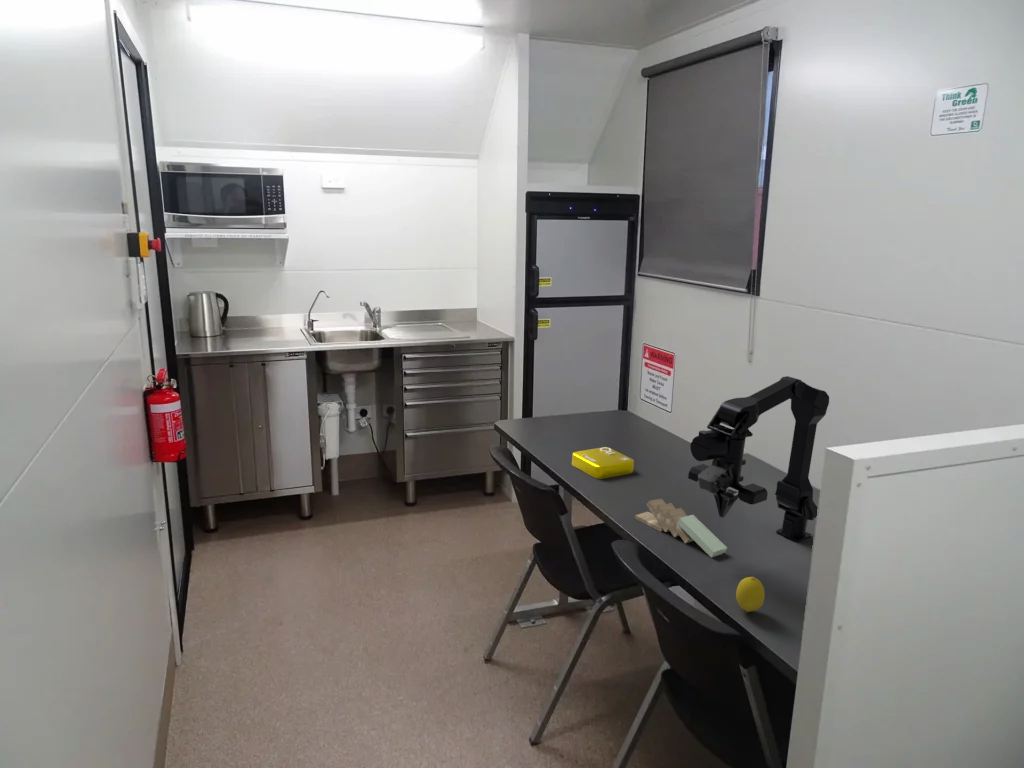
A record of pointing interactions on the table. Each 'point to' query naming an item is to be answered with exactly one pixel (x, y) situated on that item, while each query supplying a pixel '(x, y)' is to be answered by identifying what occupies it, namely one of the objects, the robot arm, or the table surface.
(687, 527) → the head tile
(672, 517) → the tile
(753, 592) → the lemon
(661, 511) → the tile
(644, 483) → the table surface
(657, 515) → the tile
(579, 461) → the element tile
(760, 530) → the table surface
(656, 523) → the tile
